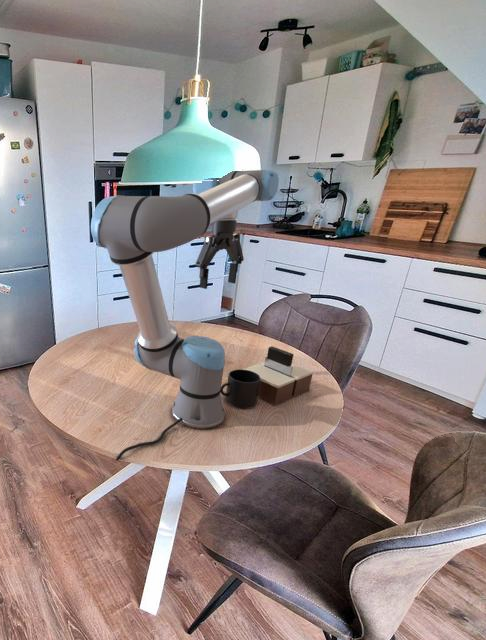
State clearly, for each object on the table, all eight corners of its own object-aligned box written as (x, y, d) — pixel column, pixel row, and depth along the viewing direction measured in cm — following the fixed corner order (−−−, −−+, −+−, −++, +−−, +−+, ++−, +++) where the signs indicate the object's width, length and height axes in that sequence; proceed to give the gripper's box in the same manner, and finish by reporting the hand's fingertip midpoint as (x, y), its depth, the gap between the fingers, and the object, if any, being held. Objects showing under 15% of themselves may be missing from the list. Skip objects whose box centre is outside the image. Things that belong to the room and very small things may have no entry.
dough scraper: (286, 390, 125) (293, 356, 120) (260, 378, 133) (266, 346, 128) (289, 388, 126) (296, 355, 121) (264, 377, 134) (269, 345, 129)
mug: (213, 395, 126) (215, 370, 123) (247, 392, 128) (251, 368, 124) (224, 410, 118) (228, 384, 114) (261, 407, 119) (266, 381, 116)
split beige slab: (274, 405, 121) (278, 386, 118) (239, 387, 131) (241, 369, 129) (309, 390, 129) (313, 371, 126) (273, 374, 140) (276, 357, 137)
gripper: (241, 216, 132) (234, 278, 141) (187, 220, 120) (182, 288, 129) (260, 217, 126) (251, 282, 135) (204, 222, 114) (198, 292, 123)
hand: (217, 285), depth 132 cm, fingers open, 13 cm apart
